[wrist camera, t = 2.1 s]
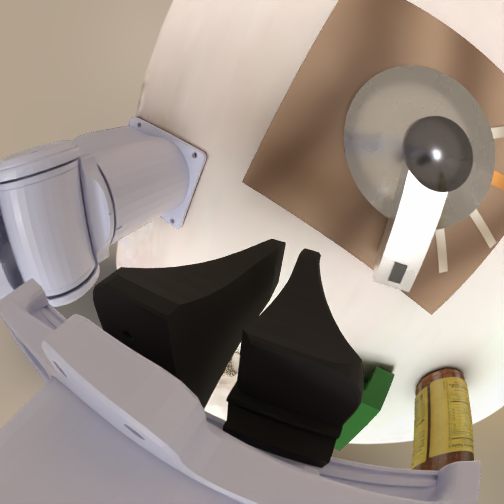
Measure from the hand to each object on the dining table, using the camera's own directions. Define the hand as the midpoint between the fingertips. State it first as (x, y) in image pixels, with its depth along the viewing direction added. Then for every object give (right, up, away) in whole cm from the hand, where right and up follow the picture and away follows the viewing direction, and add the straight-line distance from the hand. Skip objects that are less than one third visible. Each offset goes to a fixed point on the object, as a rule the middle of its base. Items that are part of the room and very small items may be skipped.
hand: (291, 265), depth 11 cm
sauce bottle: (+19, -13, +10) cm, 25 cm away
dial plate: (+9, +8, +3) cm, 12 cm away
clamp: (+9, -15, +15) cm, 23 cm away
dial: (+8, +6, +2) cm, 10 cm away
